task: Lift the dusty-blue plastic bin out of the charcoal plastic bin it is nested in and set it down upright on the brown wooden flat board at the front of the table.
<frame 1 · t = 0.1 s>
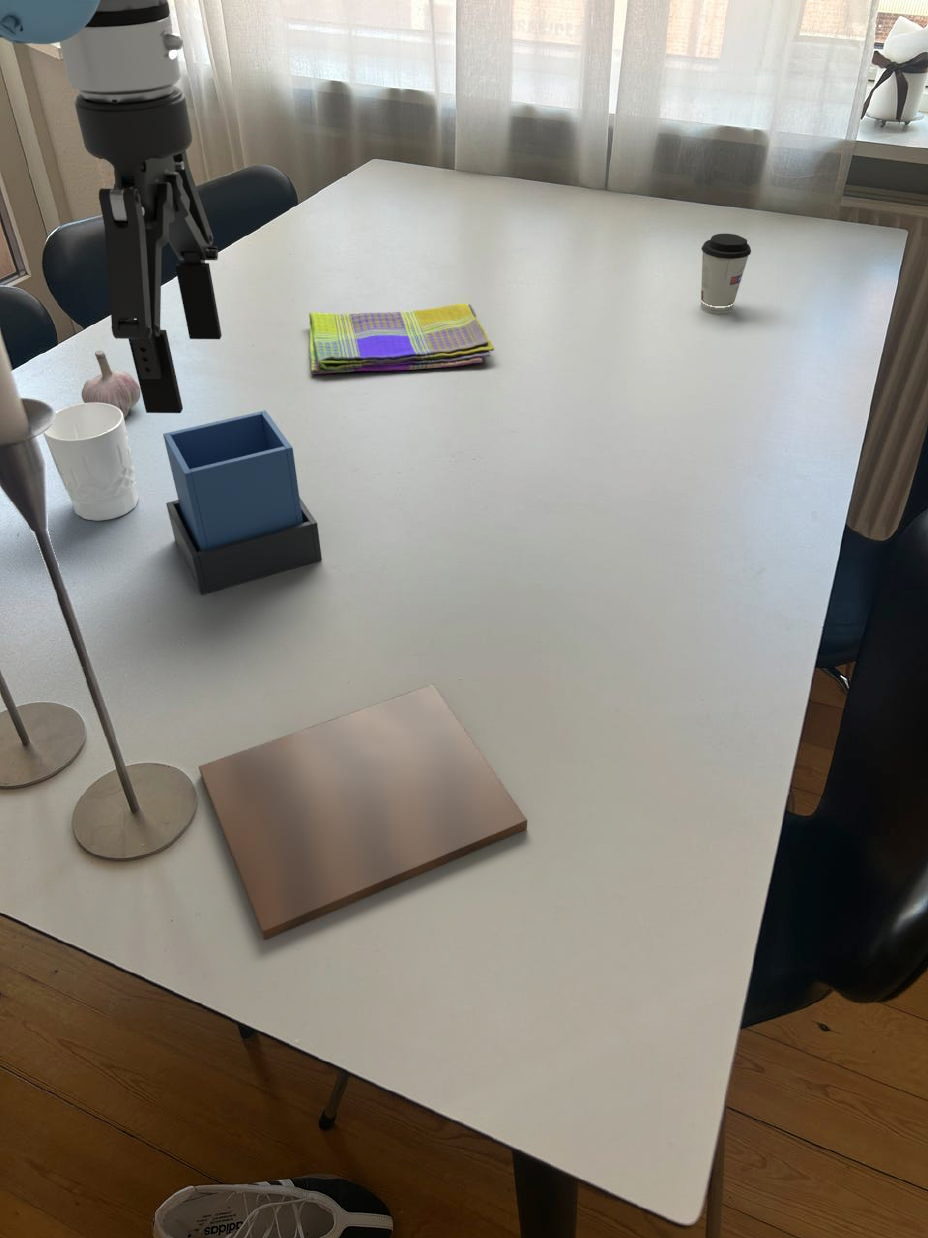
hand: (186, 372, 81), 21 cm above the table, tool pointing down, fingers open, 13 cm apart
coffee cup: (716, 309, 143), on the table
dish towel: (398, 346, 134), on the table
brown wooden flat board: (359, 801, 73), on the table
blue bin: (246, 545, 97), resting on charcoal bin
white cup: (107, 505, 104), on the table
charcoal bin: (247, 549, 97), on the table
garlic bulb: (115, 411, 120), on the table
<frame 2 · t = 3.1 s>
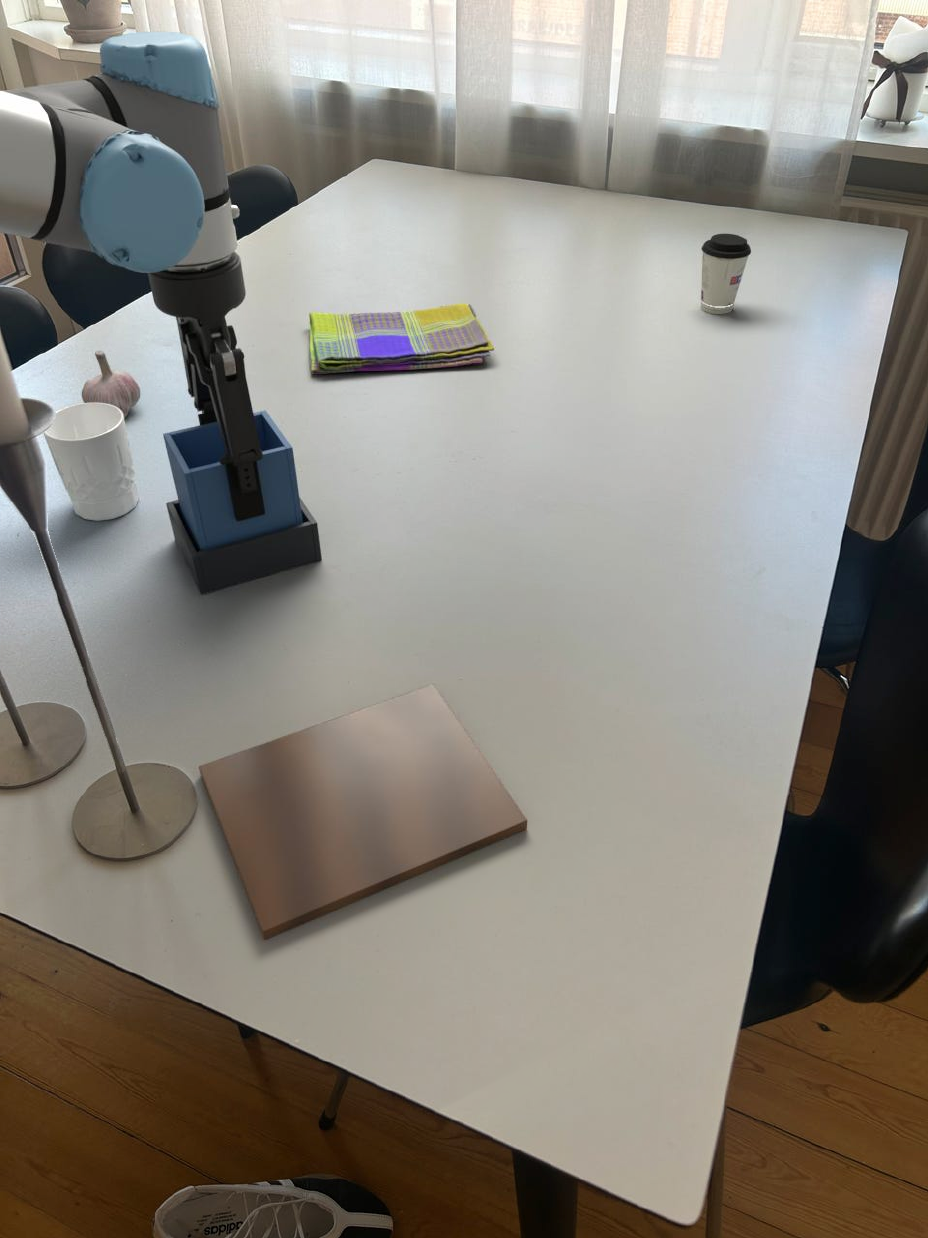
hand: (236, 492, 93), 7 cm above the table, tool pointing down, fingers closed on blue bin, 8 cm apart
blue bin: (246, 545, 97), point 1 cm above the table, touching charcoal bin, gripper
everything else where it was.
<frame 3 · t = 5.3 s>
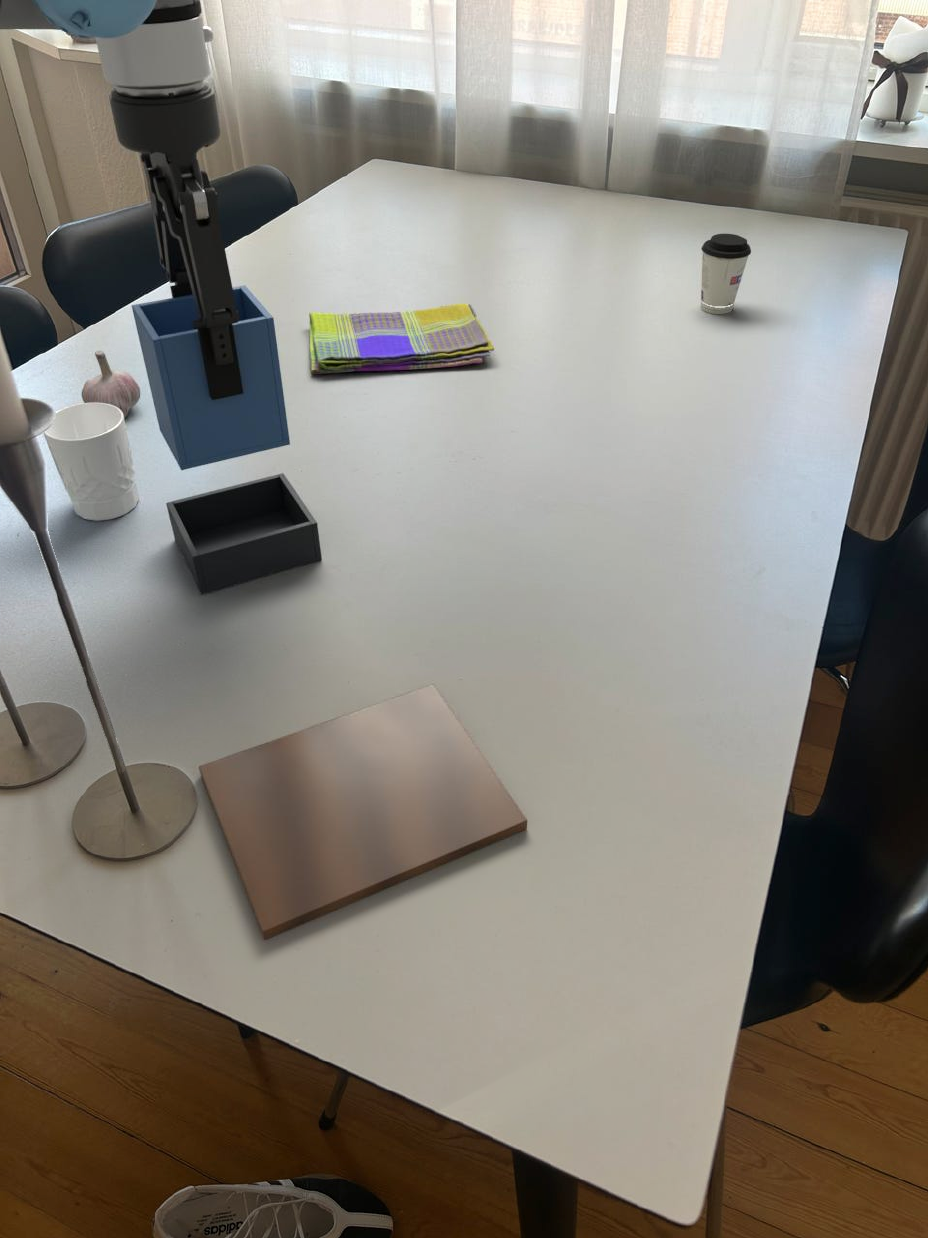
hand: (212, 374, 85), 19 cm above the table, tool pointing down, fingers closed on blue bin, 8 cm apart
blue bin: (224, 437, 89), point 13 cm above the table, touching gripper
everything else where it was.
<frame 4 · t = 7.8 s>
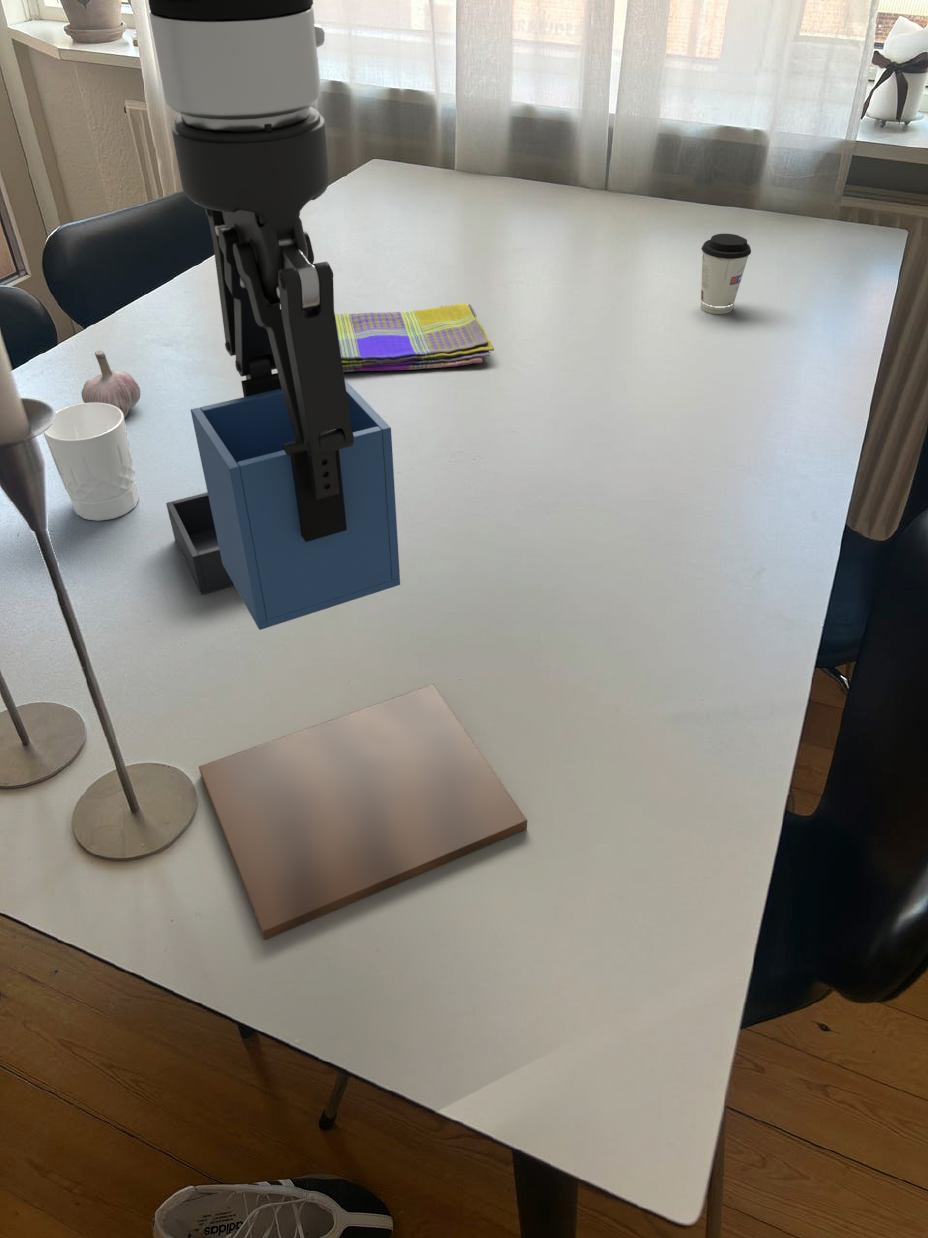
hand: (299, 498, 62), 23 cm above the table, tool pointing down, fingers closed on blue bin, 8 cm apart
blue bin: (310, 574, 66), point 17 cm above the table, touching gripper
everything else where it was.
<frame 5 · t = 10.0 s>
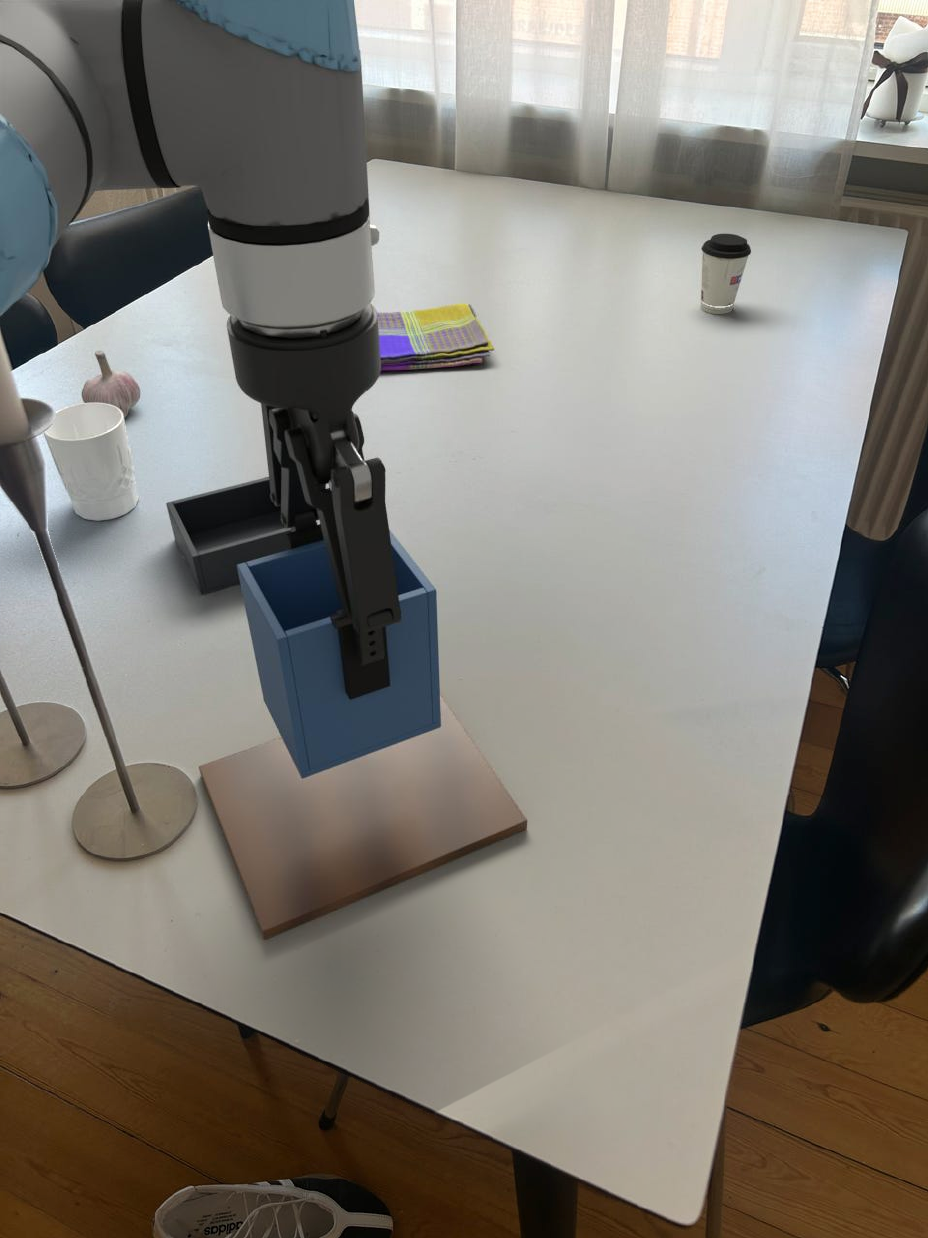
hand: (342, 647, 63), 16 cm above the table, tool pointing down, fingers closed on blue bin, 8 cm apart
blue bin: (351, 714, 67), point 9 cm above the table, touching gripper
everything else where it was.
when the fingers open (7 cm above the table, at t = 12.3 s): blue bin stays where it is, resting on brown wooden flat board.
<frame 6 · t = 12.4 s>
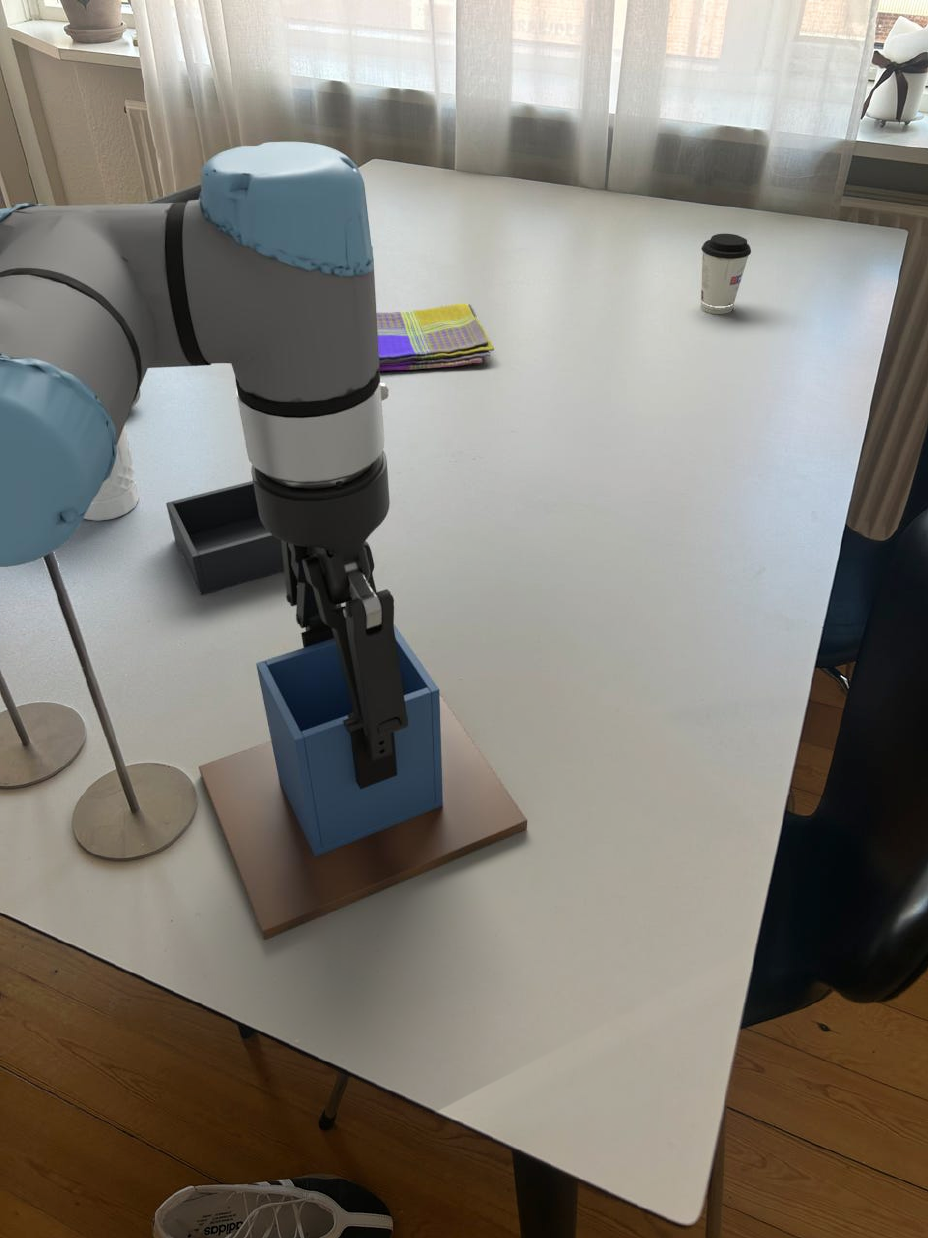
hand: (352, 735, 68), 7 cm above the table, tool pointing down, fingers open, 8 cm apart
blue bin: (359, 792, 72), point 1 cm above the table, touching brown wooden flat board
everything else where it was.
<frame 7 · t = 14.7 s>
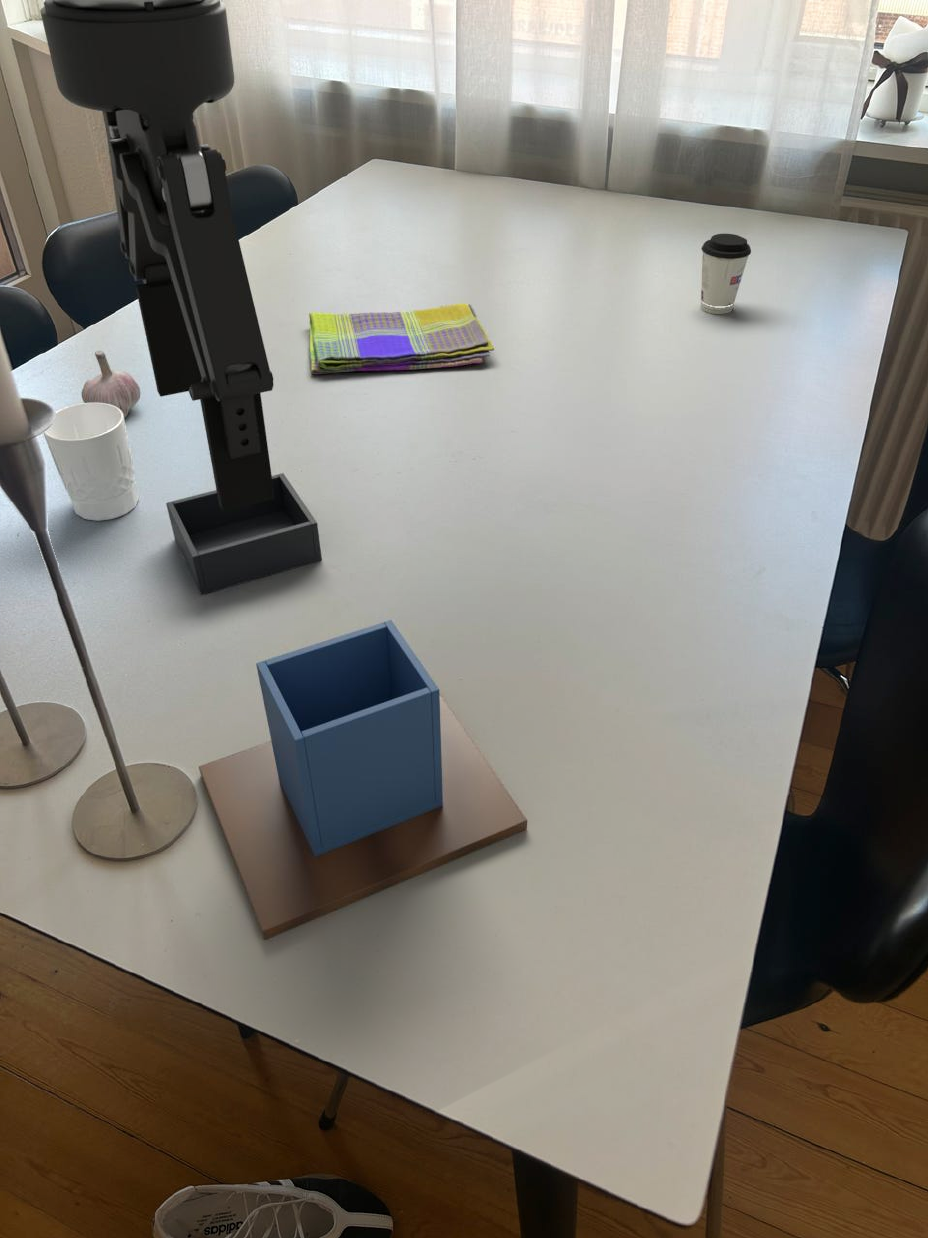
hand: (211, 441, 54), 30 cm above the table, tool pointing down, fingers open, 13 cm apart
nothing on the table moved.
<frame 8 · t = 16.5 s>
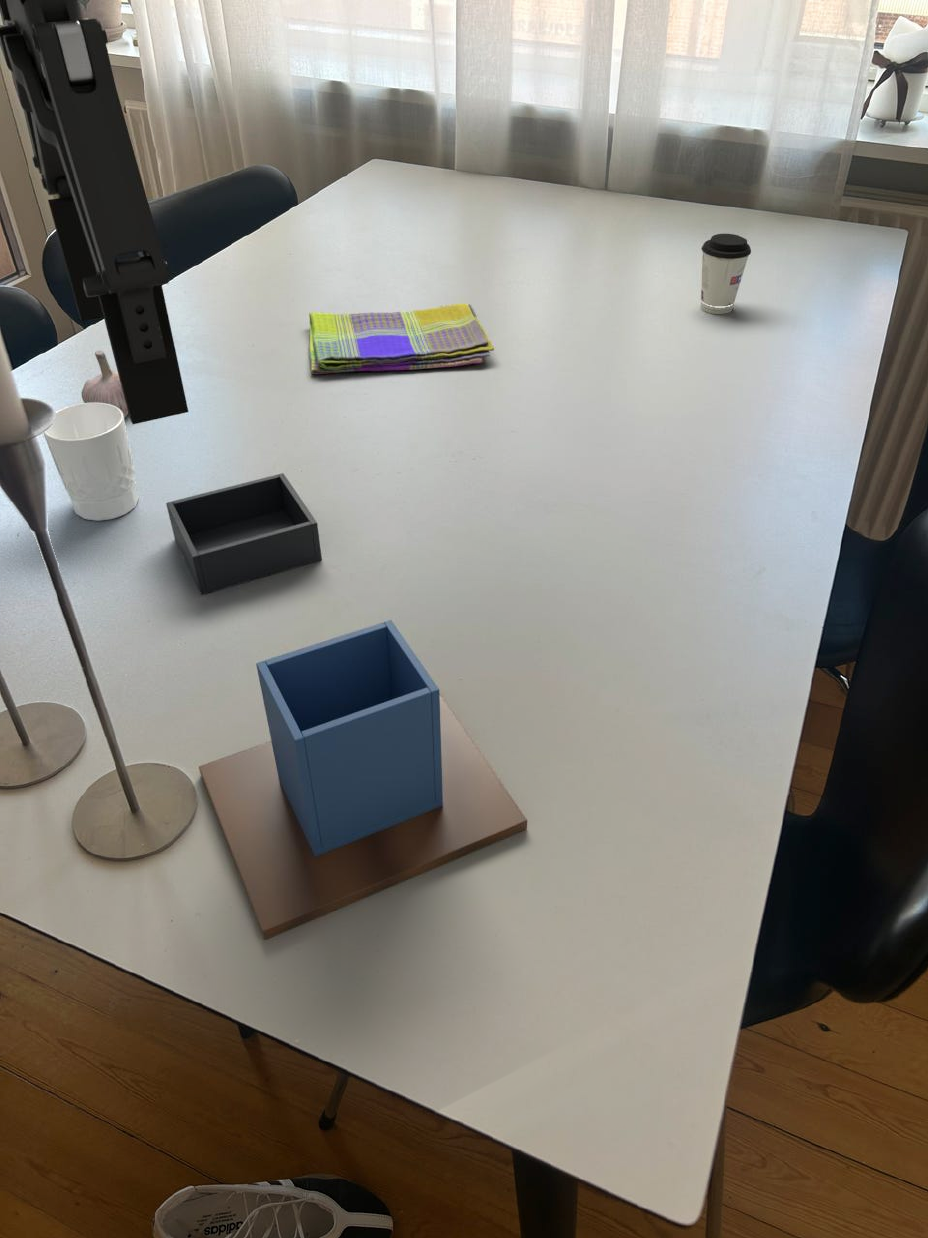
hand: (129, 360, 52), 35 cm above the table, tool pointing down, fingers open, 13 cm apart
nothing on the table moved.
at the end: blue bin inside the target area on the brown wooden flat board (0.1 cm from its centre), point 1.0 cm above the brown wooden flat board's base; blue bin tilted 0°; blue bin touching brown wooden flat board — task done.
